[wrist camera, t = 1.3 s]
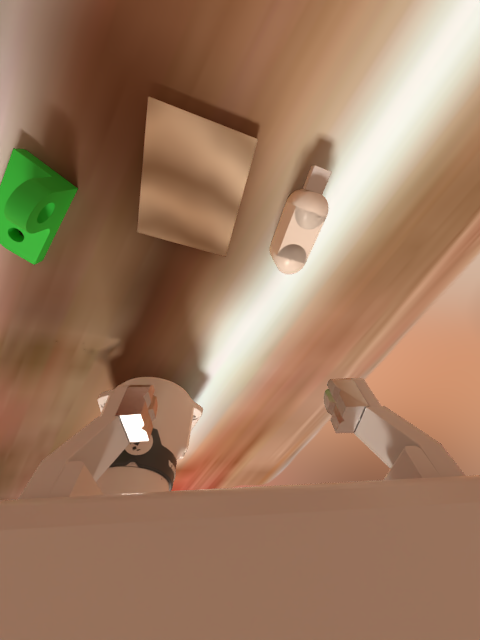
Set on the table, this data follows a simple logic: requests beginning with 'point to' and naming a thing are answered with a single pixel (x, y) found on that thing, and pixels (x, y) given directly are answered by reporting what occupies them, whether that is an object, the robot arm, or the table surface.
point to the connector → (300, 223)
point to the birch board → (191, 178)
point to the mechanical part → (31, 205)
